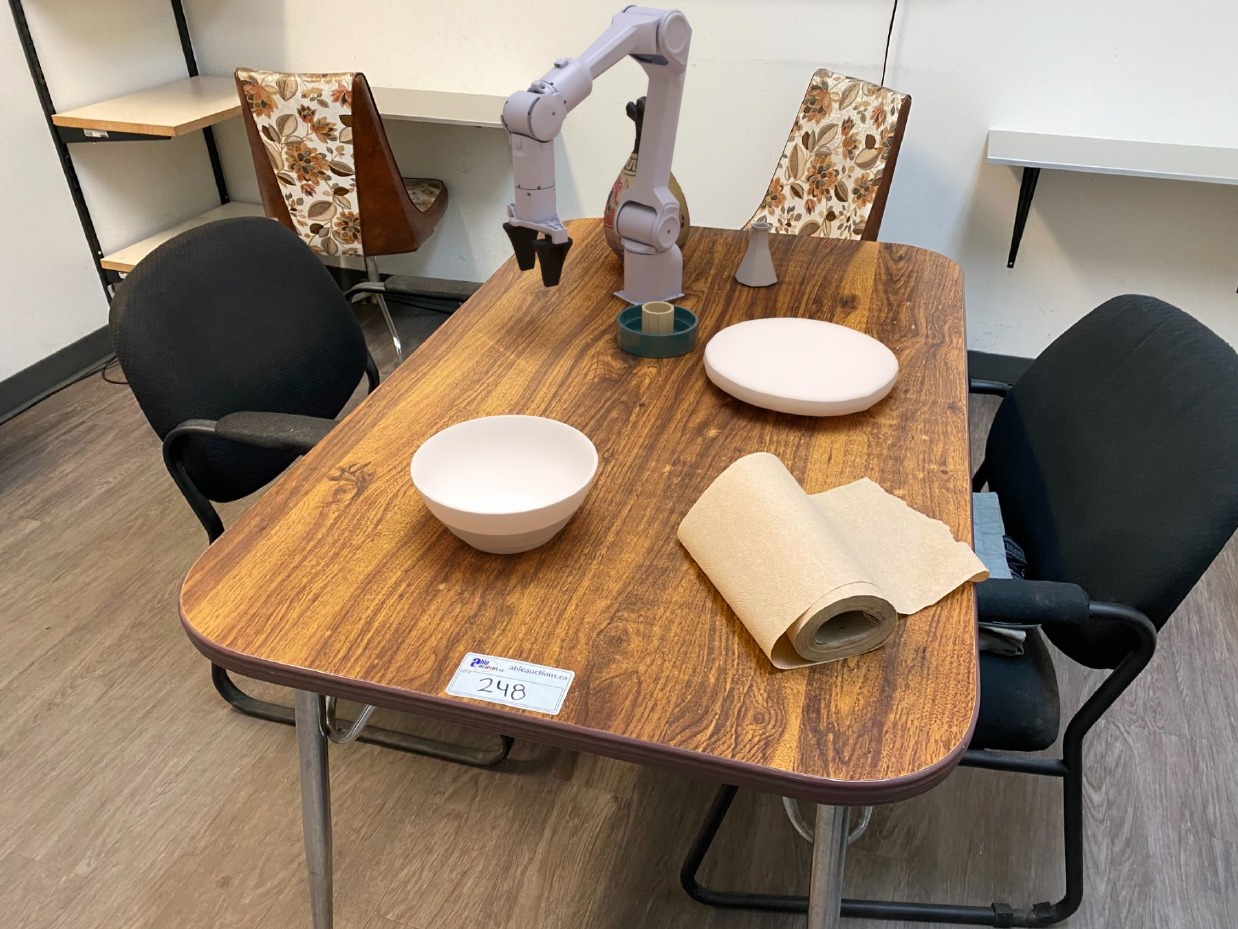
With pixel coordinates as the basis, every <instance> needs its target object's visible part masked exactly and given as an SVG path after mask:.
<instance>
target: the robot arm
mask: <svg viewBox="0 0 1238 929" xmlns="http://www.w3.org/2000/svg"><path fill="white" fill-rule="evenodd" d="M692 34H693V28H692V26H691V24H690V22H689V21H688V19H687V17H686V15H685V14H684V12H682V10H679V9H662V8H653V7H645V6H638V5H636V4H627V5H625V6H624V7H623V8H622V9H621V10H620V11H619V12H617V13H615V14H614V15H612V17H611V24H610V26H609V27H608V28H606V29H605V31H604V32H602V33H601V35H599V37H598V38H596V40H595V41H594V42H593V43H592V44H591V45H590V46H588V47H587V49H586V50H584V51H583V53H582V54H580V56H578V57H577V59H576V58H573V57H565V58H562V57H561V58H560V57H559V58H557V59H556V60H555V61H554V62H553V65H554V66H553V67H552V68H551V69H550V70H548V71H547V72H546V73H545V74H544V75H543V76H541V77H540V78H539V79H534V80H533V81H532V82H531V83H530V86H529V87H528V88H527V90H516V91H514V92H513V93H511V95H509V96H508V98H507V99H506V100H505V102H504V105H503V107H502V113H501V114H500V115H499V118H500V122H501V125H502V128H503V129H504V130H505V132H506V133H507V136H508V145H510V147H511V156H512V174H513V191H514V202H509V203H507V204H506V206H507V207H506V210H507V217H508V221H506V222H503V223H502V229H503V230H504V231H505V233H506V235H507V237H508V239H509V241H510V243H511V247H512V248H513V251H514V255H515V259H516V262H517V265H518V268H519V270H520V271H521V272H526V271H531V270H534V269H535V266H536V259H537V258H538V263H539V267H540V272H541V274H540V275H541V279H542V280H541V281H542V284H543V286H544V287H545V288H547V289H548V288H551V287H552V288H553V287H557V286H559V285H560V282H561V277H562V271H563V268H564V264H565V262H566V258H567V255H568V254H569V251H570V250H571V248H572V247H573V245H574V244H573V243H574V239H573V238H571V237H570V236H568V235H569V234H568V227H566V226H565V225H564V224H563V222H562V220H561V218H560V216H559V215H558V213H557V194H556V191H557V190H556V168H555V139H554V138H556V137H558V135H559V133H560V132H561V130H562V126H563V124H564V121H565V119H566V118H567V115H568V114H569V113H570V112H572V111H573V110H574V109H575V108H576V107H577V106H578V105H580V104H581V103H582V102H583V101H584V100H585V99H587V98H588V97H589V96H590V95H591V93H592V91H593V82H594V81H595V80H596V79H597V78H598V77H600V76H601V75H603V74H604V73H605V72H607V71H608V70H609V69H610V68H612V67H613V66H615V65H616V64H617V63H619V62H620V61H621V60H623V59H624V58H625V57H627V56H629V57H630V58H631V59H632V60H634V61H635V63H637V64H638V65H640V67H641V68H642V69H643V71H644V72H645V74H646V76H647V77H648V82H647V91H646V96H647V97H646V104H645V111H644V119H643V126H642V133H641V140H640V147H639V155H638V162H637V169H636V176H635V183H634V184H633V185H632V186H631V187H630V188H628V189H627V190H625V191H624V192H623V193H622V195H621V202H620V205H619V208H618V210H617V212H616V214H615V218H614V229H615V232H616V234H617V235H618V236H619V237H620V238H621V244H622V245H624V265H623V289H621V290H618V291H614V292H613V293H612V294H613V295H615V296H617V297H619V298H620V299H622V300H625V301H627V302H628V303H630V304H632V305H633V306H635V305H639V304H646V303H648V302H654V301H660V302H667V301H670V300H673V299H677V298H681V297H684V296H685V293H682V288H683V286H682V284H683V282H682V281H683V263H684V261H683V255H682V251H680V249H679V247H678V246H677V245H676V244H675V242H676V240H677V238H678V236H679V232H680V221H679V208H680V204H679V202H678V201H677V199H676V198H675V197H674V196H673V194H672V193H671V192H670V190H669V188H668V185H669V179H670V172H672V165H673V159H674V153H675V146H676V139H677V132H678V128H679V127H678V126H679V119H680V114H681V106H682V101H683V93H684V87H685V81H686V75H687V66H688V60H689V54H690V47H691V40H692ZM644 204H646V205H644ZM648 205H649V206H648ZM651 206H652V207H651ZM539 233H541V234H542V235H544V237H543V238H538V236H539ZM536 256H537V258H536Z"/></svg>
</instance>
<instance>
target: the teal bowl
mask: <svg viewBox="0 0 1238 929" xmlns="http://www.w3.org/2000/svg"><path fill="white" fill-rule="evenodd" d="M670 304H671V305H673V306H674V324H673V333H672V334H647V333H641V330H642V305H644V304H639V305H631V306H627V307H626V308H624V309H622V310H620V311H619V313H618V314H617V315H616V344H617V346H618V347H619V348H620V349H621V350H623V351H624V352H626V353H628V354H630V355H634V356H638V357H641V358H648V359H670V358H676V357H680V356H683V355H687V354H688V353H691V352H693V351H694V350H695V349H696V347H697V345H698V343H699V331H700V330H699V329H700V328H699V327H700V319H699V315H697V314H696V313H695V311H693V310H691V309H689V308H686V307H684V306H681V305H677V304H672V303H670Z"/></svg>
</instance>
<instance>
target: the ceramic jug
mask: <svg viewBox="0 0 1238 929" xmlns="http://www.w3.org/2000/svg"><path fill="white" fill-rule="evenodd" d="M646 97H647V95H642V96H640V97H638V98H637V99H636V103H635V102H634V101H630V100H629V101H628V102H627V104H626V106H625V112H626V116H627V117H628V118H629V119H630V120H631V121H633V122H634V127H635V138H634V146H633V150H632V152H630V155H629V157H628V159H627V160H626V161H625V164H624V165H623V166H622V168H621V170H620V172H619V173H618V176H617V178H616V179H615V181H614V182H613V184H612V187H611V189H610V191H609V193H608V196H607V199H606V203H605V207H604V211H603V222H602V223H603V224H602V225H603V226H602V227H603V232H604V235H605V239H606V244H607V246H608V247H609V248H610V250H611V251H612V252H613V253H614V254H615V255H616V257H617V258H618V259H619V261H620V262H621V264H622V265H623V266H624V245H622V244H621V238H620V237H619V236H618V235H617V234H616V232H615V229H614V218H615V214H616V212H617V210H618V208H619V205H620V202H621V195H622V193H623V192H624V191H625V190H627V189H628V188H630V187H631V186H632V185H633V184H634V183H635V176H636V169H637V162H638V155H639V147H640V140H641V133H642V126H643V119H644V111H645V104H646ZM668 188H669V190H670V192H671V193H672V194H673V196H674V197H675V198H676V199H677V201H678V202H679V204H680V208H679V221H680V232H679V236H678V238H677V240H676V242H675V244H676V245H677V246H678V247H679V249H680V251H681V252H682V251H683V250H684V247H685V246H686V243H687V242H688V238H689V235H690V230H691V218H690V212H689V208H688V203H687V200H686V197H685V193H684V192H683V190H682V187H681V186H680V183H679V182H678V180H677V178H676V177H675V175H674V173H673V171H671V172H670V179H669V185H668ZM644 205H646V204H644ZM648 206H649V205H648ZM651 207H652V206H651Z"/></svg>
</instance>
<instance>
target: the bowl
mask: <svg viewBox="0 0 1238 929" xmlns="http://www.w3.org/2000/svg"><path fill="white" fill-rule="evenodd" d="M596 449H597V448H596V447H595V445H594V444H593V442H592V441H591V440H590V439H589V437H588V436H586V435H585V434H584V433H583V432H581V431H580V430H579V429H577V428H575V427H573V426H571V425H570V424H568V423H564V422H561V421H558V420H555V419H551V418H547V417H543V416H536V415H527V414H500V415H490V416H483V417H479V418H473V419H469V420H466V421H462V422H458V423H456V424H453V425H451V426H449V427H447V428H444V429H442V430H440V431H439V432H436V434H434V435H432V436H430V437H429V438H428V439H426V441H424V442H423V443H422V444H421V445H420V446H419V448H418V449H417V450H416V452H415V453H414V455H413V457H412V459H411V462H410V465H409V466H410V468H409V476H410V478H411V482H412V484H413V486H414V487H415V489H416V491H417V492H418V494H419V496H420V497H421V499H422V500H423V502H424V503H425V505H426V507H427V509H428V510H429V511H430V513H432V514H433V515H434V517H436V518H437V519H438V520H439V521H440V522H441V523H442V525H443V526H445V527H446V528H448V529H449V531H450V533H452V534H453V535H454V536H456V537H458V538H459V539H460V540H462V541H464V542H465V543H466V544H468V545H469V546H470V547H472V548H475V549H476V550H479V551H481V552H485V553H490V554H498V555H513V554H520V553H525V552H529V551H531V550H534V549H537V548H539V547H541V546H543V545H545V544H547V543H548V542H549V541H550V540H551V539H553V538H554V536H555V535H556V534H557V533H559V532H560V531H561V530H562V529H563V528H565V526H566V525H567V524H568V522H569V521H570V519H571V518H572V517H573V516H574V514H575V513H577V511H578V510H579V508H580V506H582V504H583V502H584V501H585V499H586V497H587V495H588V492H589V490H590V488H591V485H592V484H593V483H592V482H593V481H594V478H595V476H596V473H597V470H598V467H599V455H598V452H597V450H596Z"/></svg>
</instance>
